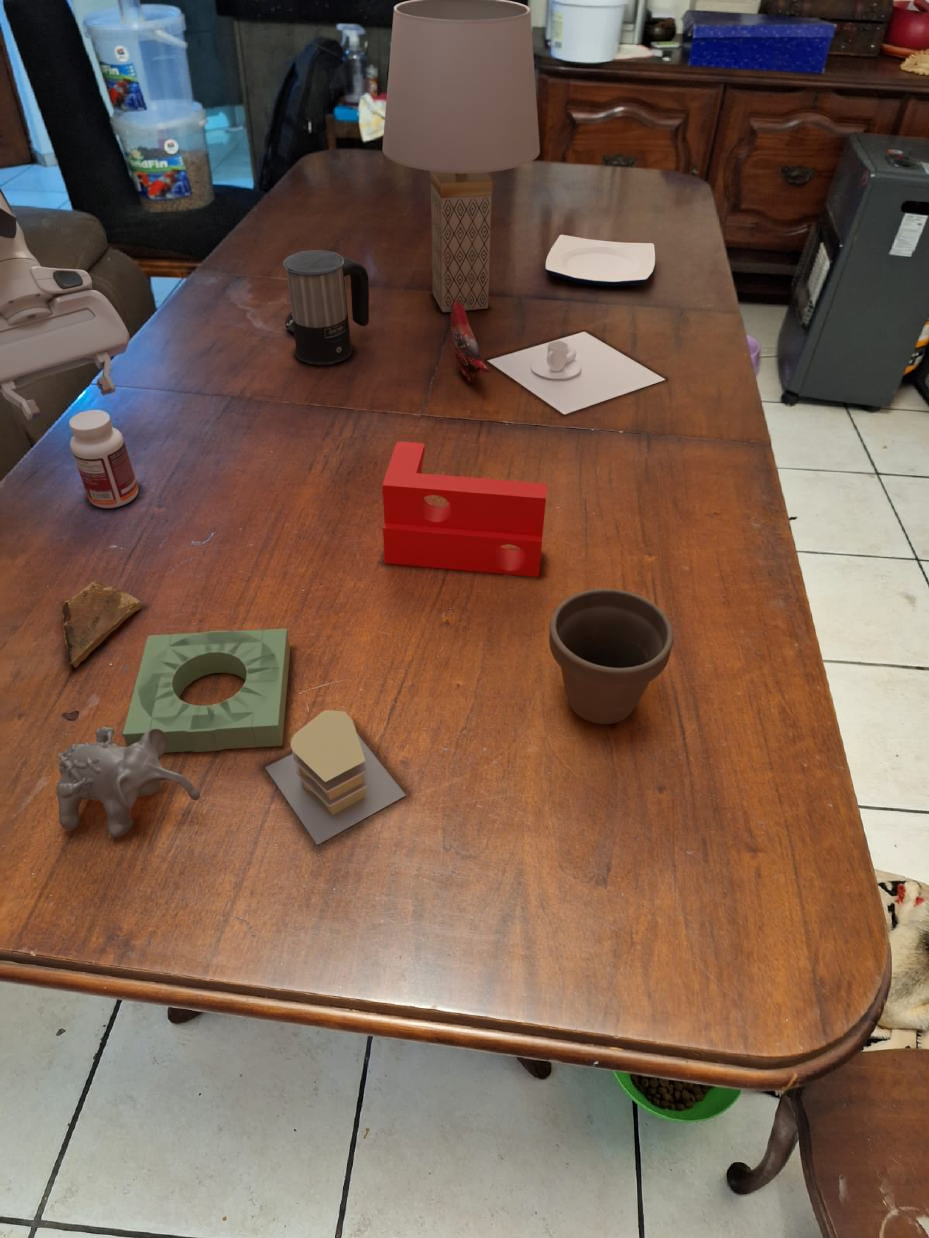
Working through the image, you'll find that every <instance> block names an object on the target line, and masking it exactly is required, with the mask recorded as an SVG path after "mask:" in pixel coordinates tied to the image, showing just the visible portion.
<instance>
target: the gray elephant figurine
mask: <svg viewBox="0 0 929 1238" xmlns="http://www.w3.org/2000/svg"><path fill="white" fill-rule="evenodd" d="M94 734H95V737H96V742H91V743H89V742H88V741H85V742H84V743H81V744H80V743H79V744H77V743H72V744H71V745H70V746H69V747H68V748H67V749H66V750H64V751H63V753H62V752H61V753H60V752H59V753H58V754H57V758H58V759H59V761H60V762H58V766H59V772H60V778H59V779H58V781H57V783H56V789H55V790H56V795H57V796H56V797H57V802H58V822H59V824H60V826H61V827H62V828H63V829H64V830H66V831H74V830H76V829H77V827H78V826H79V824H80V806H81V803H82V801H83V800H88V799H90V800H91V801H99V802H100V803H101V804H102V805H103V807H104V809H105V812H106V815H107V818H108V819H107V831H108V834H109V836H111V837H112V838H119V837H122V835H125V834H126V833H128V832H129V831H130V830H131V828H132V827H133V825H134V821H133V819H132V817H131V816H130V813H131V809H132V808H133V806H134V805H135V802H136V801H137V798H138V797H148V796H151V795H154V794H155V793H157V792H158V791H159V790H160V789H161V783H162V781H165V780H167V781H172V782H174V783H177V784H179V785H180V786H182V788H184V789H185V790H186V792H187V795H188V796H189V797H190V799H191V800H193V801H199V800H200V798H201V792H200V790H199V789H198V788H197V787H195V786H194V784H193V783H192V782H191V780H189V779H188V778H186V776H184V775H182V774H180V773H178V772H176V771H173V770H169V769H166V768H164V767H163V766H162V765H161V762H160V759H161V758H162V756H163V755H164V754H165V753H164V751H165V749H166V746H167V744H168V737H167V735H166V734H165V732H163V731H162V730H160V729H151V730H149V731H147V732H146V733H145V734H144V735H143V736H142V738H141V740H140V741H139V742H136V743H134V744H132V745H130V746H128V747H127V746H121V745H117V744H116V743H114V742H113V737H114V734H115V729H114V728H113V727H108V726H101V727H100V728H97V729H96V730H94Z"/></svg>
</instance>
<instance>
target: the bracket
mask: <svg viewBox="0 0 929 1238" xmlns="http://www.w3.org/2000/svg"><path fill="white" fill-rule="evenodd" d="M425 453H426V443H422V442H408V441H396V443H395V446H394V449H393V451H392V455H391V457H390V461H389V464H388V467H387V469H386V473H385V476H384V479H383V482H382V484H381V486H382V487H381V488H382V504H383V505H382V506H383V520H384V522H383V526H382V537H383V553H384V564H387V565H398V566H408V567H409V566H410V567H422V568H432V569H443V570H453V571H454V570H456V571H465V572H477V573H487V574H488V573H489V574H497V575H498V574H499V575H511V576H521V577H522V576H523V577H533V578H539V577H540V567H541V558H542V557H541V556H542V546H543V536H544V535H543V534H544V524H545V514H546V502H547V493H548V483H542V482H530V481H521V480H520V481H517V480H505V479H494V478H481V477H480V478H479V477H468V476H455V475H445V474H444V475H443V474H433V473H431V474H429V473H422V471H423V463H424V457H425ZM429 496H438V497H441V498H443V499H444V500H446V501H447V503H448V505H445V506H435V505H432V504H430V503H429V502H428V501H427V500H426V499H425V498H426V497H429ZM505 545H506V546H514V547H517V549H507V548H505V547H503V546H505Z"/></svg>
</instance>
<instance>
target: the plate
mask: <svg viewBox="0 0 929 1238" xmlns="http://www.w3.org/2000/svg"><path fill="white" fill-rule="evenodd" d="M655 265H656V252H655V244H654V243H652V242H623V241H622V242H621V241H609V240H608V241H607V240H598V239H590V238H583V237H579V236H578V237H577V236H572V235H566V234H560V235H558V237H557V239H556V240H555V242H554V243H553V245H552V246H551V248H550V250H549V252H548V254H547V257H546V259H545V269H544V271H545V272H546V273H547V275H548V276H552V277H554V278H555V277H556V278H560V279H563V280H566V281H567V280H568V281H571V282H575V283H578V284H579V283H580V284H584V285H591V286H598V287H599V286H601V287H602V286H603V287H617V286H618V287H619V286H637V285H638V286H641V285H643V284H645V283H646V282H647V281H648V280H649V279H650V277H651V276H652V275H653V273H654V269H655Z"/></svg>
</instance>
